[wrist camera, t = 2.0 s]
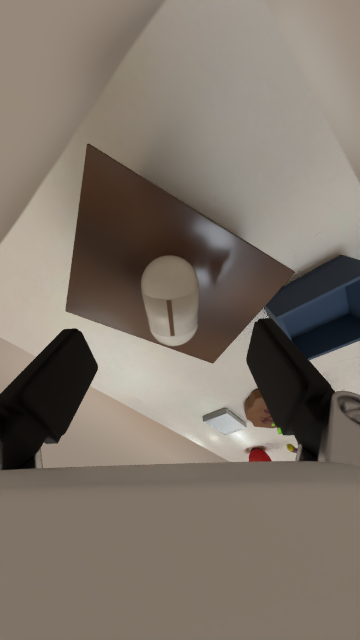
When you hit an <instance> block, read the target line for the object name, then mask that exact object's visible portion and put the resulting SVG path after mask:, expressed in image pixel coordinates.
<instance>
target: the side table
mask: <svg viewBox="0 0 360 640" xmlns="http://www.w3.org/2000/svg"><path fill="white" fill-rule="evenodd" d="M164 255H174V256H178V257H181V258H183V259H185V260H186V261H187V262H189V263H190V264H191V265H192V267H193V268H194V270H195V272H196V273H197V277H198V282H199V322H198V328H197V331H196V333H195V334H194V336H193V337H192V338H191V339H190V340H189V341H188V342H186V343H185V344H182V345H179V346H168V345H165V344H162V343H160V342H159V341H158V340H157V339H155V338H154V336H153V335H152V333H151V332H150V329H149V325H148V320H147V316H146V311H145V306H144V301H143V296H142V291H141V278H142V275H143V272H144V270H145V268H146V267H147V265H148V264H149V263H150V262H151V261H153V260H154V259H156V258H158V257H161V256H164ZM294 273H295V272H294V271H293V270H291V269H290V268H288V267H287V266H285V265H283V264H282V263H280V262H279V261H277V260H275V259H274V258H272V257H270V256H269V255H267V254H266V253H264V252H262V251H261V250H259V249H258V248H256V247H254V246H253V245H251V244H250V243H248V242H246V241H245V240H243V239H242V238H240V237H238V236H237V235H235V234H233V233H232V232H230V231H229V230H227V229H225V228H224V227H222V226H221V225H219V224H217V223H216V222H214V221H213V220H211V219H209V218H208V217H206V216H205V215H203V214H201V213H200V212H198V211H196V210H195V209H193V208H192V207H190V206H188V205H187V204H185V203H184V202H182V201H180V200H179V199H177V198H176V197H174V196H172V195H171V194H169V193H168V192H166V191H164V190H163V189H161V188H159V187H158V186H156V185H155V184H153V183H151V182H150V181H148V180H147V179H145V178H143V177H142V176H140V175H139V174H137V173H135V172H134V171H132V170H131V169H129V168H127V167H126V166H124V165H122V164H121V163H119V162H118V161H116V160H114V159H113V158H111V157H110V156H108V155H106V154H105V153H103V152H102V151H100V150H98V149H97V148H95V147H94V146H92V145H90V144H87V149H86V157H85V165H84V172H83V180H82V188H81V195H80V203H79V211H78V218H77V226H76V234H75V241H74V249H73V257H72V264H71V272H70V280H69V288H68V295H67V303H66V312H69V313H72V314H75V315H78V316H81V317H83V318H86V319H89V320H92V321H95V322H97V323H100V324H103V325H106V326H109V327H112V328H114V329H117V330H120V331H123V332H126V333H128V334H131V335H134V336H137V337H140V338H142V339H145V340H148V341H151V342H154V343H157V344H159V345H162V346H165V347H168V348H171V349H173V350H176V351H179V352H182V353H185V354H188V355H190V356H193V357H196V358H199V359H202V360H204V361H207V362H210V363H214V362H215V361H216V360H217V358H218V357H219V356H220V355H221V354H222V353H223V352H224V351H225V350H226V348H227V347H228V346H229V345H230V344H231V343H232V342H233V341H234V340H235V338H236V337H237V336H238V335H239V334H240V333H241V332H242V331H243V330H244V329H245V327H246V326H247V325H248V324H249V323H250V322H251V321H252V320H253V319H254V317H255V316H256V315H257V314H258V313H259V312H260V311H261V310H262V309H263V307H264V306H265V305H266V304H267V303H268V302H269V301H270V300H271V299H272V297H273V296H274V295H275V294H276V293H277V292H278V291H279V290H280V289H281V287H282V286H283V285H284V284H285V283H286V282H287V281H288V280H289V279H290V278H291V276H292V275H293V274H294Z"/></svg>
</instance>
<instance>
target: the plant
mask: <svg viewBox="0 0 360 640" xmlns="http://www.w3.org/2000/svg"><path fill="white" fill-rule="evenodd" d="M244 406H245V414H246V417H247V419H248V420H250V421H251V422H252V423H253V425H254V426H255V427H266V428H276V425H275V424H274V422H273V420H272V417H271V415H270V413H269V411H268V409H267V406H266V404H265V402H264V400H263V398H262V395H261V393H260V391H259V389H258V390H255V391H253V392H252V393H251V395H250V397H249V398H248V399H247V400H246V402H245V405H244ZM277 430H278V433H279V434H281V433H282V432H281V429H280V428H277ZM297 442H298V441H297ZM298 445H299V443H298ZM287 449H288V450H289V451H291V452H293V453H297V450H298V448H297V449H296V448H295V447H294V446H293V445H291V444H287Z"/></svg>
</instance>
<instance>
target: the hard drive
mask: <svg viewBox="0 0 360 640" xmlns="http://www.w3.org/2000/svg"><path fill="white" fill-rule="evenodd" d="M203 422H205V423H207V424H208V425H210V426H211V427H213V428H215V429H216V430H218V431H219V432H221V433H223V434H224V435H227V434H230V433H233V432H236V431H240V430H242V429H245V428H247V426H246V423H244V422H243V421H242V420H240V419H239V418H238V417H236V416H235V415H234V414H233V413H231V412H230V411H229V410H227V409H226V408H223V409H221V410H218V411H216V412H213V413H210V414H208V415H205V416H203Z"/></svg>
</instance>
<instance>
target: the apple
mask: <svg viewBox="0 0 360 640" xmlns="http://www.w3.org/2000/svg"><path fill="white" fill-rule="evenodd" d="M268 461H271V459H270V457H269V456H268V454H267V453H266V452H265V451H263V450H261V449H254V450H252V451H251V452H250V454H249V462H268Z"/></svg>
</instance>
